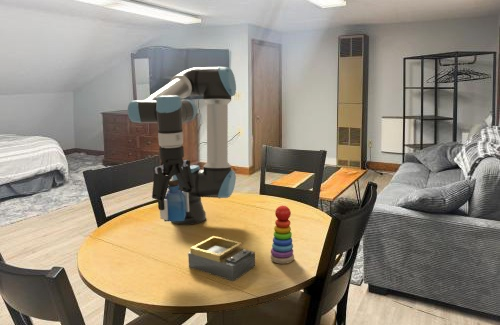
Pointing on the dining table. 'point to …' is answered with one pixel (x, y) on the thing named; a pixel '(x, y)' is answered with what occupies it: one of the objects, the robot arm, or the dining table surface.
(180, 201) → the perfume bottle
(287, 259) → the stacking toy
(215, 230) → the dining table surface
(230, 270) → the gray gold-framed box
